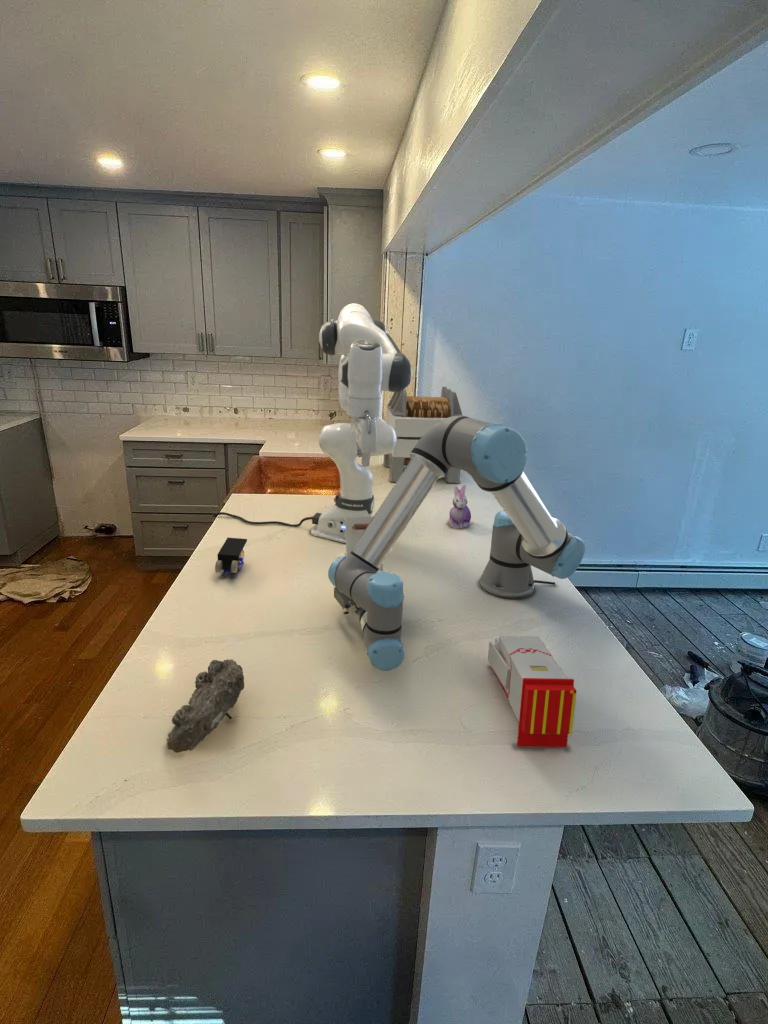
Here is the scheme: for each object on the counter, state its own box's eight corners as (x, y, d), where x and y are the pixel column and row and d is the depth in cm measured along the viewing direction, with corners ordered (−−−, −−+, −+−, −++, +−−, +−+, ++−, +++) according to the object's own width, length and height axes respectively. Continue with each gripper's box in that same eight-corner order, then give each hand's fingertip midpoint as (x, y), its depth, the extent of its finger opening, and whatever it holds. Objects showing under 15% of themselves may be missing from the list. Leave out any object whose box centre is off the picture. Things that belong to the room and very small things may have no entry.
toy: (536, 619, 129) (586, 686, 99) (531, 673, 131) (578, 754, 102) (483, 618, 128) (517, 685, 99) (479, 672, 131) (511, 753, 102)
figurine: (456, 530, 205) (460, 491, 199) (441, 521, 213) (444, 483, 208) (477, 527, 209) (481, 488, 204) (461, 518, 217) (465, 480, 212)
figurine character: (238, 584, 162) (249, 557, 175) (236, 562, 158) (247, 536, 172) (215, 584, 161) (227, 556, 175) (212, 561, 158) (225, 535, 171)
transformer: (382, 463, 289) (386, 382, 275) (445, 464, 293) (451, 384, 279) (390, 482, 257) (394, 392, 243) (460, 483, 261) (468, 394, 247)
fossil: (192, 660, 117) (244, 628, 112) (224, 691, 120) (276, 661, 115) (142, 746, 98) (202, 712, 93) (182, 779, 101) (242, 748, 96)
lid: (345, 517, 148) (348, 515, 141) (380, 516, 150) (385, 514, 142) (346, 571, 148) (349, 573, 140) (382, 570, 149) (387, 571, 142)
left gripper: (383, 415, 134) (381, 471, 139) (370, 401, 153) (368, 451, 158) (357, 415, 133) (355, 472, 138) (347, 401, 152) (346, 451, 157)
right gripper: (327, 637, 130) (321, 591, 151) (421, 631, 134) (402, 587, 155) (328, 608, 128) (321, 566, 149) (423, 603, 132) (404, 563, 153)
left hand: (362, 461), depth 148 cm, fingers open, 8 cm apart
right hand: (362, 577), depth 152 cm, fingers closed on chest, 9 cm apart
